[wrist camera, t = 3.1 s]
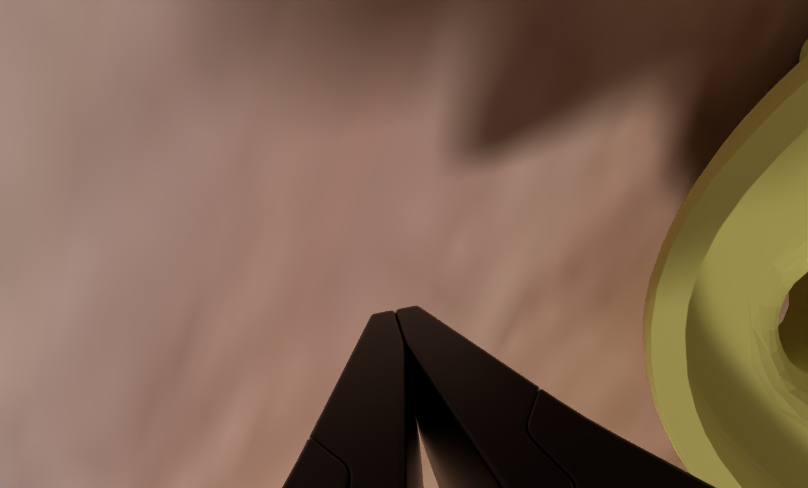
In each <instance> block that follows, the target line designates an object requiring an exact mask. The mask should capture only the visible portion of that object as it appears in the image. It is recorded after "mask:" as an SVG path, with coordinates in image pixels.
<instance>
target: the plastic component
mask: <svg viewBox="0 0 808 488" xmlns="http://www.w3.org/2000/svg"><path fill="white" fill-rule="evenodd" d="M799 60H800V62H799V63H798V64H797V65H796V66H795V67H794V68H792V69H791V70H790V71H789V72H788V73H787V74H786V75H785V76H784V77H783V78H782V79H781V80H780V81H779V82H778V83H777V84H776V85H775V86H774V87H773V88H772V89H771V90H770V91H769V92H768V93H767V94H766V95H765V96H764V97H763V98H762V99H761V100H760V101H759V102H758V104H757V105H756V106H755V107H754V108H753V109H752V110H751V111H750V112H749V113H748V114H747V115H746V116H745V118H744V119H743V120H742V121H741V122H740V124H739V125H738V126H737V127H736V128H735V130H734V131H733V132H732V133H731V134H730V136H729V137H728V138H727V139H726V141H725V142H724V143H723V144H722V146H721V147H720V148H719V150H718V151H717V153H716V154H715V155H714V157H713V158H712V160H711V161H710V163H709V164H708V165H707V167H706V168H705V170H704V171H703V172H702V174H701V175H700V177H699V178H698V179H697V181H696V182H695V184H694V185H693V187H692V188H691V190H690V192H689V193H688V195H687V197H686V199H685V200H684V202H683V204H682V205H681V207H680V209H679V211H678V212H677V214H676V216H675V218H674V220H673V222H672V224H671V226H670V229H669V231H668V233H667V235H666V238H665V240H664V242H663V245H662V247H661V250H660V253H659V255H658V258H657V261H656V264H655V267H654V270H653V272H652V275H651V278H650V282H649V286H648V290H647V295H646V300H645V308H644V315H643V348H644V356H645V363H646V371H647V376H648V380H649V385H650V389H651V394H652V398H653V401H654V404H655V407H656V409H657V412H658V415H659V418H660V420H661V423H662V425H663V427H664V429H665V431H666V433H667V435H668V437H669V439H670V441H671V443H672V445H673V447H674V449H675V450H676V452H677V454H678V456H679V457H680V459H681V460H682V462H683V464H684V465H685V467H686V468H687V469H688V471H689V472H690V474H691V475H693V476H695V477H697V478H699V479H701V480H703V481H704V482H706V483H708V484H710V485H712V486H714V487H716V488H808V39H807V40H806V41H805V43H804V45H803V47H802V49H801V53H800V57H799ZM788 292H789V307H788V309H787V312H786V314H785V317H784V319H783V321H782V323H781V324H780V325H779V326H778V323H779V313H780V310H781V308H782V305H783V302H784V300H785V297H786V295H787V294H788Z"/></svg>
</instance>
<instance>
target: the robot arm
mask: <svg viewBox="0 0 808 488" xmlns="http://www.w3.org/2000/svg"><path fill="white" fill-rule="evenodd" d="M417 425H418V427H417ZM418 429H419V433H420V436H421V439H422V442H423V445H424V448H425V450H426V453H427V456H428V458H429V461H430V464H431V467H432V469H433V472H434V475H435V478H436V480H437V483H438V486H439V488H716V487H714V486H712V485H710V484H708V483H706V482H704V481H703V480H701V479H699V478H697V477H695V476H693V475H691V474H689V473H688V472H686V471H684V470H682V469H680V468H678V467H676V466H674V465H672V464H671V463H669V462H667V461H665V460H663V459H661V458H659V457H657V456H656V455H654V454H652V453H650V452H648V451H646V450H644V449H642V448H641V447H639V446H637V445H635V444H633V443H631V442H629V441H627V440H626V439H624V438H622V437H620V436H618V435H616V434H615V433H613V432H611V431H609V430H607V429H606V428H604V427H602V426H600V425H599V424H597V423H595V422H593V421H591V420H590V419H588V418H586V417H585V416H583V415H581V414H580V413H578V412H577V411H575V410H574V409H572V408H570V407H569V406H567V405H566V404H564V403H562V402H561V401H559V400H558V399H556V398H555V397H553V396H552V395H550V394H549V393H547V392H546V391H544V390H543V389H540V390H539V387H538V386H537V385H535V384H534V383H532V382H531V381H529V380H528V379H526V378H525V377H523V376H522V375H520V374H519V373H517V372H516V371H514V370H513V369H511V368H510V367H508V366H507V365H505V364H504V363H502V362H501V361H499V360H498V359H496V358H495V357H493V356H492V355H490V354H489V353H487V352H486V351H484V350H483V349H481V348H480V347H478V346H477V345H475V344H474V343H472V342H471V341H469V340H468V339H467V338H465V337H464V336H462V335H461V334H459V333H458V332H456V331H455V330H453V329H452V328H450V327H449V326H447V325H446V324H444V323H443V322H441V321H440V320H438V319H437V318H435V317H434V316H432V315H431V314H429V313H428V312H426V311H425V310H423V309H422V308H420V307H419V306H412V307H407V308H401V309H398V310H397V311H396V314H395V312H394V311H386V312H381V313H376V314H373V315H372V316H371V317H370V319H369V321H368V323H367V325H366V327H365V329H364V331H363V333H362V335H361V337H360V339H359V341H358V343H357V345H356V347H355V349H354V350H353V352H352V354H351V356H350V358H349V360H348V362H347V364H346V366H345V368H344V370H343V372H342V374H341V376H340V378H339V380H338V382H337V384H336V386H335V388H334V390H333V392H332V394H331V396H330V398H329V400H328V402H327V404H326V406H325V407H324V409H323V411H322V413H321V415H320V417H319V419H318V421H317V423H316V425H315V427H314V429H313V431H312V433H311V435H310V439H309V440H307V442H306V444H305V446H304V448H303V450H302V452H301V454H300V456H299V458H298V460H297V462H296V464H295V465H294V467H293V469H292V471H291V473H290V474H289V476H288V478H287V480H286V482H285V484H284V485H283V487H282V488H424V486H423V475H422V464H421V452H420V442H419V434H418Z"/></svg>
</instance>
